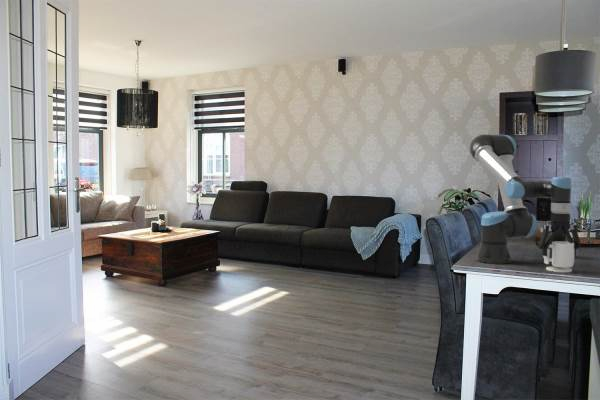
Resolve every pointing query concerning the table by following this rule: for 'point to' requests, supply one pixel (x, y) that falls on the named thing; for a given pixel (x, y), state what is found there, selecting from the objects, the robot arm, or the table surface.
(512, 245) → the table surface
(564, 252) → the cup
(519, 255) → the table surface
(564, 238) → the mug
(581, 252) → the table surface
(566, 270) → the saucer
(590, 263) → the table surface
